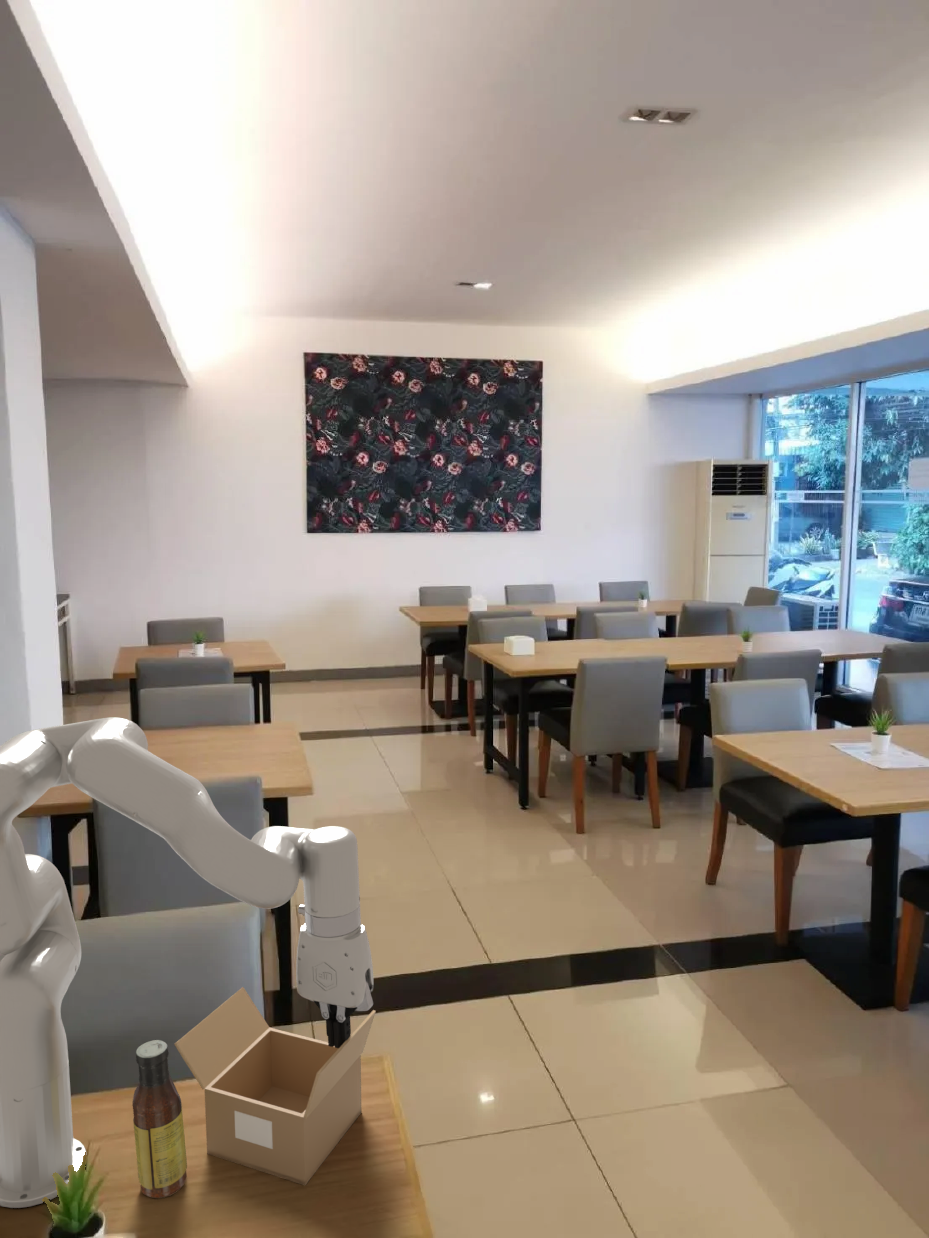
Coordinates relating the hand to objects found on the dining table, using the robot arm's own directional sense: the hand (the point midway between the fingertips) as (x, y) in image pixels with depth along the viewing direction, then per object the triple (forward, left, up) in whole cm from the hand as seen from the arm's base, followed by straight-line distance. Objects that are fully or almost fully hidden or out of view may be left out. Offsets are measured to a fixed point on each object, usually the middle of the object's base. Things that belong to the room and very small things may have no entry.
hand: (339, 1041), depth 129 cm
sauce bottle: (-19, -15, -17) cm, 29 cm away
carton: (-9, 0, -16) cm, 19 cm away
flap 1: (-19, 0, -3) cm, 20 cm away
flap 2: (0, 0, -3) cm, 3 cm away
